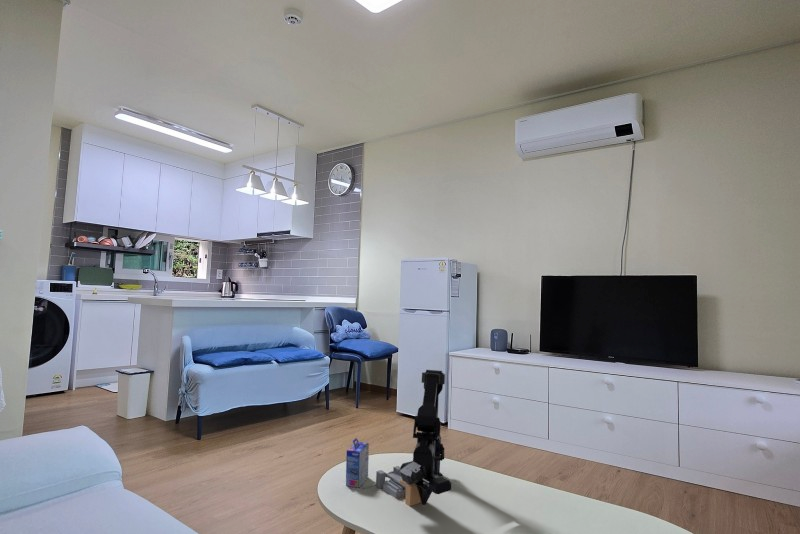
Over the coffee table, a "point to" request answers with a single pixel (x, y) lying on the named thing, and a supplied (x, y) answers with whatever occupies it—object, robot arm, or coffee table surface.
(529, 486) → the coffee table surface
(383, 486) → the board
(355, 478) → the ink cartridge box
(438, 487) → the robot arm
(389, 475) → the strap
